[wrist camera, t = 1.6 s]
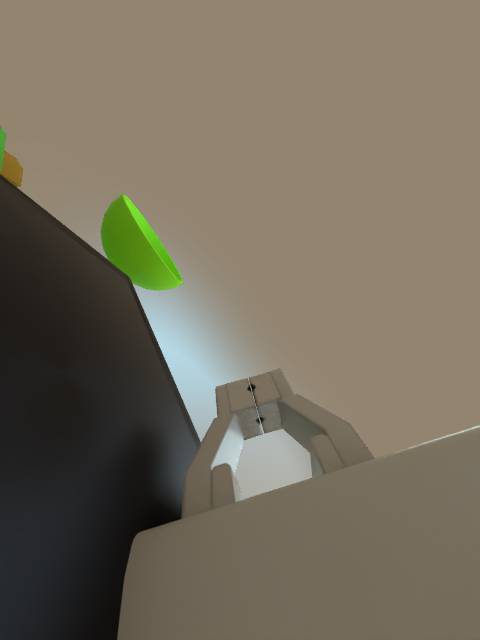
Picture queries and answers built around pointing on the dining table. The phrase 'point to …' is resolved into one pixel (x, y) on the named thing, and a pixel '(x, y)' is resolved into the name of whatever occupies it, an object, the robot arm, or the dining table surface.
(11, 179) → the decorative tree
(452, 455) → the robot arm
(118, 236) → the wineglass
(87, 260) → the oven
